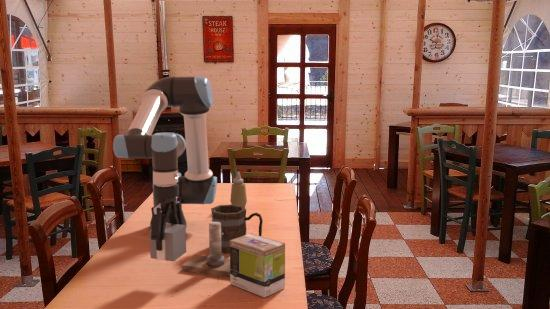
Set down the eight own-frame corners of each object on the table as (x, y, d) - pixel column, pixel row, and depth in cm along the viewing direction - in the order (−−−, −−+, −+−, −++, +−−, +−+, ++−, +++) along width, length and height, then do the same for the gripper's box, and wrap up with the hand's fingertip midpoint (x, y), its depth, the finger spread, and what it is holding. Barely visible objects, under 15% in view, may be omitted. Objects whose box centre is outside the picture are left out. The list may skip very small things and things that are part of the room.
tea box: (286, 288, 154) (286, 242, 151) (263, 299, 146) (263, 251, 144) (251, 274, 164) (251, 231, 161) (229, 284, 156) (228, 239, 154)
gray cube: (150, 258, 153) (149, 230, 152) (164, 249, 161) (163, 222, 159) (173, 261, 151) (172, 233, 149) (186, 252, 158) (185, 225, 157)
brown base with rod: (182, 270, 167) (180, 224, 164) (196, 259, 176) (194, 216, 173) (237, 278, 160) (236, 231, 158) (248, 267, 170) (248, 222, 167)
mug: (207, 252, 183) (206, 213, 180) (216, 240, 196) (215, 203, 193) (259, 255, 180) (259, 215, 178) (265, 242, 194) (265, 205, 191)
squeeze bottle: (246, 210, 237) (246, 173, 234) (229, 210, 237) (229, 173, 234) (247, 206, 245) (247, 170, 242) (231, 205, 245) (230, 170, 242)
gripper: (158, 193, 141) (161, 268, 145) (193, 177, 160) (194, 244, 164) (135, 191, 143) (139, 265, 147) (172, 175, 162) (174, 241, 167)
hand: (168, 254), depth 156 cm, fingers closed on gray cube, 8 cm apart
